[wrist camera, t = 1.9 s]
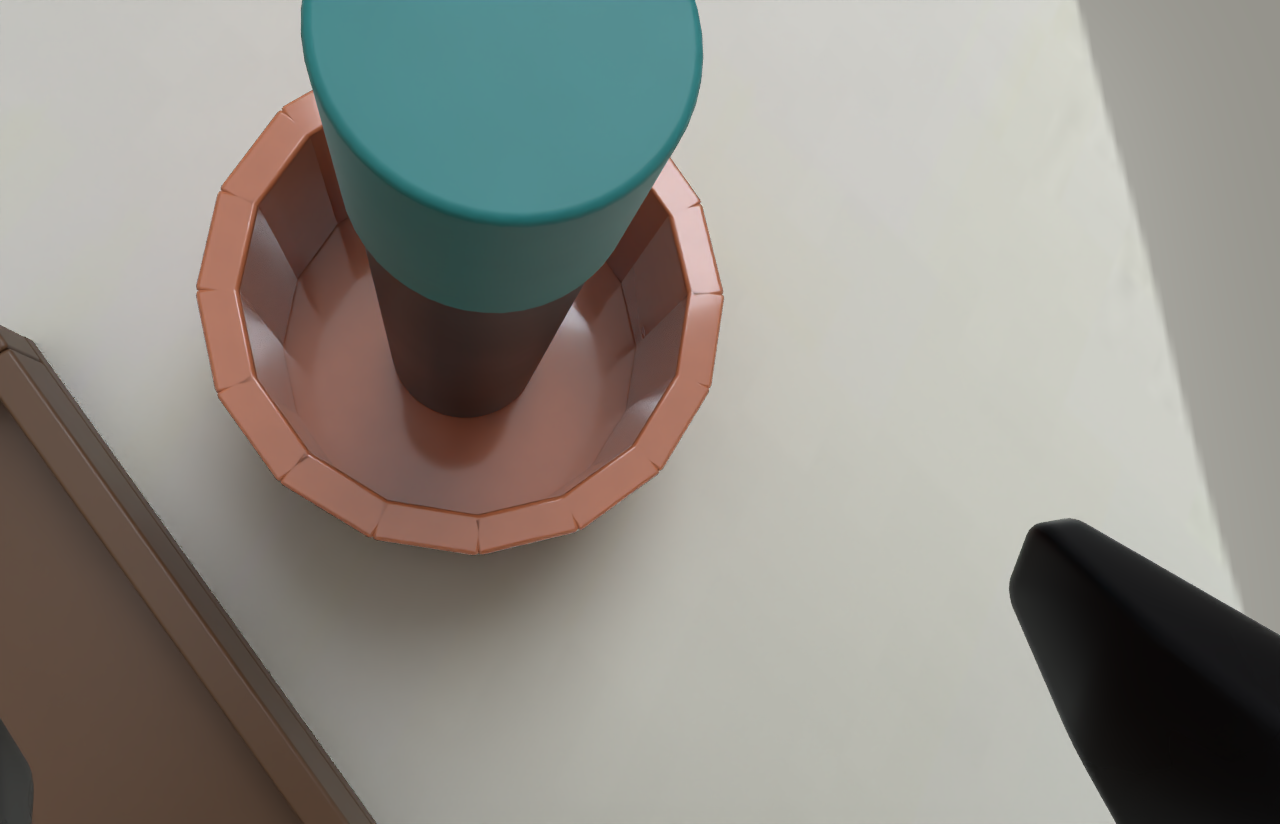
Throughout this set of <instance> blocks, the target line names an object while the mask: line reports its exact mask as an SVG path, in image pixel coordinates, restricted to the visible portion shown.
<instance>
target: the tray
mask: <svg viewBox="0 0 1280 824" xmlns="http://www.w3.org/2000/svg"><path fill="white" fill-rule="evenodd" d="M0 718H1V720H2V721H3V723H4V725H5V726H6V728H7V730H8V731H9V733H10V735H11V736H12V738H13V739H14V741H15V743H16V744H17V746H18V748H19V749H20V751H21V752H22V754H23V756H24V757H25V759H26V761H27V762H28V764H29V767H30V769H31V772H32V777H33V783H34V801H33V815H32V824H377V823H376V822H375V821H374V819H373V818H372V816H371V815H370V814H369V812H368V811H367V809H366V808H365V807H364V805H363V804H362V802H361V801H360V800H359V798H358V797H357V795H356V794H355V793H354V791H353V790H352V788H351V787H350V786H349V784H348V783H347V781H346V780H345V779H344V777H343V776H342V774H341V773H340V772H339V770H338V769H337V767H336V766H335V765H334V763H333V762H332V760H331V759H330V758H329V756H328V755H327V753H326V752H325V751H324V749H323V748H322V746H321V745H320V744H319V742H318V741H317V739H316V738H315V736H314V735H313V734H312V732H311V731H310V729H309V728H308V727H307V725H306V724H305V722H304V721H303V720H302V718H301V717H300V715H299V714H298V713H297V711H296V710H295V708H294V707H293V706H292V704H291V703H290V701H289V700H288V699H287V697H286V696H285V694H284V693H283V692H282V690H281V689H280V687H279V686H278V685H277V683H276V682H275V680H274V679H273V678H272V676H271V675H270V673H269V672H268V671H267V669H266V668H265V666H264V665H263V664H262V662H261V661H260V659H259V658H258V657H257V655H256V654H255V652H254V651H253V649H252V648H251V647H250V645H249V644H248V642H247V641H246V640H245V638H244V637H243V635H242V634H241V633H240V631H239V630H238V628H237V627H236V626H235V624H234V623H233V621H232V620H231V619H230V617H229V616H228V614H227V613H226V612H225V610H224V609H223V607H222V606H221V605H220V603H219V602H218V600H217V599H216V598H215V596H214V595H213V593H212V592H211V591H210V589H209V588H208V586H207V585H206V584H205V582H204V581H203V579H202V578H201V577H200V575H199V574H198V572H197V571H196V570H195V568H194V567H193V565H192V564H191V562H190V561H189V560H188V558H187V557H186V555H185V554H184V553H183V551H182V550H181V548H180V547H179V546H178V544H177V543H176V541H175V540H174V539H173V537H172V536H171V534H170V533H169V532H168V530H167V529H166V527H165V526H164V525H163V523H162V522H161V520H160V519H159V518H158V516H157V515H156V513H155V512H154V511H153V509H152V508H151V506H150V505H149V504H148V502H147V501H146V499H145V498H144V497H143V495H142V494H141V492H140V491H139V490H138V488H137V487H136V485H135V484H134V483H133V481H132V480H131V478H130V477H129V475H128V474H127V473H126V471H125V470H124V468H123V467H122V466H121V464H120V463H119V461H118V460H117V459H116V457H115V456H114V454H113V453H112V452H111V450H110V449H109V447H108V446H107V445H106V443H105V442H104V440H103V439H102V438H101V436H100V435H99V433H98V432H97V431H96V429H95V428H94V426H93V425H92V424H91V422H90V421H89V419H88V418H87V417H86V415H85V414H84V412H83V411H82V410H81V408H80V407H79V405H78V404H77V403H76V401H75V400H74V398H73V397H72V396H71V394H70V393H69V391H68V390H67V388H66V387H65V386H64V384H63V383H62V381H61V380H60V379H59V377H58V376H57V374H56V373H55V372H54V370H53V369H52V367H51V366H50V365H49V363H48V362H47V360H46V359H45V358H44V356H43V355H42V353H41V352H40V351H39V349H38V348H37V346H36V345H35V344H34V342H33V341H32V340H30V339H28V338H26V337H23V336H21V335H19V334H17V333H15V332H13V331H11V330H9V329H7V328H5V327H3V326H1V325H0Z"/></svg>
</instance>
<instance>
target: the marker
mask: <svg viewBox="0 0 1280 824" xmlns="http://www.w3.org/2000/svg"><path fill="white" fill-rule="evenodd" d="M301 39H302V46H303V53H304V60H305V64H306V67H307V71H308V75H309V78H310V82H311V86H312V89H313V93H314V96H315V100H316V104H317V107H318V111H319V115H320V118H321V122H322V126H323V129H324V133H325V136H326V140H327V144H328V147H329V151H330V155H331V158H332V162H333V165H334V169H335V173H336V176H337V180H338V184H339V187H340V191H341V194H342V198H343V201H344V205H345V208H346V212H347V214H348V216H349V218H350V221H351V223H352V225H353V227H354V230H355V231H356V233H357V234H358V236H359V238H360V239H361V241H362V243H363V244H364V246H365V249H366V253H367V257H368V261H369V266H370V270H371V274H372V278H373V282H374V286H375V290H376V294H377V298H378V302H379V306H380V310H381V315H382V319H383V323H384V327H385V331H386V335H387V339H388V343H389V347H390V351H391V355H392V359H393V363H394V366H395V370H396V372H397V374H398V376H399V378H400V380H401V382H402V383H403V385H404V387H405V388H406V389H407V390H408V391H409V393H410V394H411V395H412V396H413V397H414V398H415V399H417V400H418V401H419V402H420V403H422V404H423V405H425V406H426V407H428V408H430V409H432V410H433V411H436V412H439V413H441V414H444V415H448V416H452V417H461V418H470V417H478V416H483V415H487V414H491V413H493V412H495V411H498V410H500V409H501V408H503V407H505V406H507V405H508V404H509V403H511V402H512V401H513V400H514V399H516V398H517V397H518V395H519V394H520V393H521V392H522V391H523V390H524V388H525V387H526V386H527V384H528V382H529V381H530V379H531V377H532V375H533V374H534V372H535V370H536V368H537V366H538V365H539V363H540V361H541V359H542V358H543V356H544V354H545V352H546V350H547V349H548V347H549V345H550V343H551V342H552V340H553V338H554V336H555V334H556V333H557V331H558V329H559V327H560V326H561V324H562V322H563V320H564V318H565V317H566V315H567V313H568V311H569V310H570V308H571V306H572V304H573V302H574V301H575V299H576V297H577V295H578V294H579V292H580V290H581V288H582V286H583V285H584V283H585V282H586V281H587V280H588V279H589V278H591V277H592V276H593V275H594V274H595V273H596V272H597V271H598V270H599V269H600V268H601V267H602V266H603V264H604V263H605V262H606V260H607V259H608V258H609V256H610V255H611V254H612V252H613V251H614V249H615V248H616V246H617V244H618V243H619V241H620V239H621V238H622V236H623V235H624V233H625V231H626V230H627V228H628V226H629V225H630V223H631V221H632V220H633V218H634V216H635V215H636V213H637V211H638V210H639V208H640V206H641V205H642V203H643V201H644V200H645V198H646V196H647V195H648V193H649V191H650V190H651V188H652V186H653V185H654V183H655V181H656V180H657V178H658V176H659V175H660V173H661V171H662V170H663V168H664V166H665V165H666V163H667V161H668V160H669V158H670V156H671V155H672V153H673V151H674V150H675V148H676V146H677V144H678V143H679V141H680V139H681V137H682V135H683V134H684V132H685V130H686V128H687V126H688V124H689V121H690V118H691V116H692V113H693V111H694V108H695V105H696V102H697V97H698V93H699V88H700V84H701V77H702V65H703V44H702V31H701V25H700V20H699V14H698V9H697V6H696V3H695V0H302V6H301Z"/></svg>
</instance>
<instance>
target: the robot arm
mask: <svg viewBox="0 0 1280 824" xmlns="http://www.w3.org/2000/svg"><path fill="white" fill-rule="evenodd" d="M1009 593H1010V599H1011V603H1012V606H1013V609H1014V611H1015V613H1016V616H1017V618H1018V620H1019V623H1020V625H1021V627H1022V630H1023V632H1024V634H1025V637H1026V639H1027V641H1028V644H1029V646H1030V648H1031V651H1032V653H1033V655H1034V657H1035V660H1036V662H1037V664H1038V667H1039V669H1040V671H1041V674H1042V676H1043V678H1044V681H1045V683H1046V685H1047V688H1048V690H1049V692H1050V694H1051V697H1052V699H1053V701H1054V704H1055V706H1056V708H1057V711H1058V713H1059V715H1060V718H1061V720H1062V722H1063V724H1064V727H1065V729H1066V731H1067V733H1068V735H1069V737H1070V739H1071V741H1072V744H1073V746H1074V748H1075V749H1076V751H1077V753H1078V755H1079V757H1080V759H1081V761H1082V763H1083V765H1084V766H1085V768H1086V770H1087V772H1088V774H1089V776H1090V777H1091V779H1092V781H1093V783H1094V784H1095V786H1096V788H1097V790H1098V792H1099V793H1100V795H1101V797H1102V799H1103V801H1104V802H1105V804H1106V806H1107V808H1108V810H1109V811H1110V813H1111V815H1112V817H1113V818H1114V820H1115V822H1116V824H1280V635H1279V634H1277V633H1275V632H1273V631H1272V630H1270V629H1268V628H1266V627H1265V626H1263V625H1261V624H1259V623H1258V622H1256V621H1254V620H1252V619H1251V618H1249V617H1247V616H1246V615H1244V614H1242V613H1240V612H1239V611H1237V610H1235V609H1233V608H1232V607H1230V606H1228V605H1226V604H1225V603H1223V602H1221V601H1219V600H1218V599H1216V598H1214V597H1213V596H1211V595H1209V594H1207V593H1206V592H1204V591H1202V590H1200V589H1199V588H1197V587H1195V586H1193V585H1192V584H1190V583H1188V582H1186V581H1185V580H1183V579H1181V578H1180V577H1178V576H1176V575H1174V574H1173V573H1171V572H1169V571H1167V570H1166V569H1164V568H1162V567H1160V566H1159V565H1157V564H1155V563H1153V562H1152V561H1150V560H1148V559H1147V558H1145V557H1143V556H1141V555H1140V554H1138V553H1136V552H1134V551H1133V550H1131V549H1129V548H1127V547H1126V546H1124V545H1122V544H1120V543H1119V542H1117V541H1115V540H1114V539H1112V538H1110V537H1108V536H1107V535H1105V534H1103V533H1101V532H1100V531H1098V530H1096V529H1094V528H1093V527H1091V526H1089V525H1087V524H1086V523H1084V522H1082V521H1080V520H1076V519H1071V518H1067V519H1060V520H1054V521H1048V522H1043V523H1038V524H1036V525H1034V526H1033V527H1032V528H1031V529H1030V530H1029V532H1028V533H1027V535H1026V538H1025V541H1024V543H1023V546H1022V549H1021V551H1020V554H1019V557H1018V559H1017V562H1016V565H1015V567H1014V570H1013V573H1012V575H1011V578H1010V583H1009ZM33 801H34V783H33V777H32V772H31V769H30V767H29V764H28V762H27V761H26V759H25V757H24V756H23V754H22V752H21V751H20V749H19V748H18V746H17V744H16V743H15V741H14V739H13V738H12V736H11V735H10V733H9V731H8V730H7V728H6V726H5V725H4V723H3V721H2V720H1V718H0V824H32V815H33Z"/></svg>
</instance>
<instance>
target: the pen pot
mask: <svg viewBox="0 0 1280 824" xmlns="http://www.w3.org/2000/svg"><path fill="white" fill-rule="evenodd" d="M700 202H701V201H700V199H699V198H698V196H697V195H696V193H695V192H694V191H693V189H692V188H691V186H690V185H689V183H688V182H687V181H686V179H685V178H684V176H683V175H682V174H681V172H680V171H679V169H678V168H677V166H676V165H675V164H674V162H673V161H672V159H671V158H669V160H668V161H667V163H666V165H665V166H664V168H663V170H662V171H661V173H660V175H659V176H658V178H657V180H656V181H655V183H654V185H653V186H652V188H651V190H650V191H649V193H648V195H647V196H646V198H645V200H644V201H643V203H642V205H641V206H640V208H639V210H638V211H637V213H636V215H635V216H634V218H633V220H632V221H631V223H630V225H629V226H628V228H627V230H626V231H625V233H624V235H623V236H622V238H621V239H620V241H619V243H618V244H617V246H616V248H615V249H614V251H613V252H612V254H611V255H610V256H609V258H608V259H607V260H606V262H605V263H604V264H603V266H602V267H601V268H600V269H599V270H598V271H597V272H596V273H595V274H594V275H593V276H592V277H591V278H589V279H588V280H587V281H586V282H585V283H584V285H583V286H582V288H581V290H580V292H579V294H578V295H577V297H576V299H575V301H574V302H573V304H572V306H571V308H570V310H569V311H568V313H567V315H566V317H565V318H564V320H563V322H562V324H561V326H560V327H559V329H558V331H557V333H556V334H555V336H554V338H553V340H552V342H551V343H550V345H549V347H548V349H547V350H546V352H545V354H544V356H543V358H542V359H541V361H540V363H539V365H538V366H537V368H536V370H535V372H534V374H533V375H532V377H531V379H530V381H529V382H528V384H527V386H526V387H525V388H524V390H523V391H522V392H521V393H520V394H519V395H518V397H517V398H516V399H514V400H513V401H512V402H511V403H509V404H508V405H507V406H505V407H503V408H501V409H500V410H498V411H495V412H493V413H491V414H487V415H483V416H478V417H470V418H461V417H452V416H448V415H444V414H441V413H439V412H436V411H433V410H432V409H430V408H428V407H426V406H425V405H423V404H422V403H420V402H419V401H418V400H417V399H415V398H414V397H413V396H412V395H411V394H410V393H409V391H408V390H407V389H406V388H405V387H404V385H403V383H402V382H401V380H400V378H399V376H398V374H397V372H396V370H395V366H394V363H393V359H392V355H391V351H390V347H389V343H388V339H387V335H386V331H385V327H384V323H383V319H382V315H381V310H380V306H379V302H378V298H377V294H376V290H375V286H374V282H373V278H372V274H371V270H370V266H369V261H368V257H367V253H366V249H365V246H364V244H363V243H362V241H361V239H360V238H359V236H358V234H357V233H356V231H355V230H354V227H353V225H352V223H351V221H350V218H349V216H348V214H347V212H346V208H345V205H344V201H343V198H342V194H341V191H340V187H339V184H338V180H337V176H336V173H335V169H334V165H333V162H332V158H331V155H330V151H329V147H328V144H327V140H326V136H325V133H324V129H323V126H322V122H321V118H320V115H319V111H318V107H317V104H316V100H315V96H314V93H313V90H312V91H310V92H308V93H306V94H305V95H303V96H301V97H299V98H297V99H296V100H294V101H292V102H290V103H289V104H287V105H285V106H283V108H282V111H281V110H280V111H279V112H277V114H276V115H275V116H274V118H273V119H272V120H271V122H270V123H269V124H268V126H267V127H266V128H265V129H264V131H263V132H262V133H261V135H260V136H259V137H258V139H257V140H256V141H255V143H254V144H253V145H252V147H251V148H250V149H249V150H248V152H247V153H246V154H245V156H244V157H243V158H242V160H241V161H240V162H239V164H238V165H237V166H236V168H235V169H234V170H233V171H232V173H231V174H230V175H229V177H228V178H227V179H226V181H225V182H224V183H223V185H222V186H221V191H219V193H218V194H217V198H216V202H215V207H214V211H213V215H212V220H211V224H210V228H209V233H208V237H207V241H206V245H205V250H204V254H203V258H202V263H201V267H200V271H199V276H198V280H197V284H196V288H197V290H198V291H197V294H196V298H197V303H198V308H199V313H200V318H201V323H202V328H203V333H204V338H205V343H206V347H207V352H208V357H209V362H210V367H211V372H212V377H213V382H214V387H215V390H216V392H217V393H218V394H217V396H218V398H219V400H220V401H221V402H222V404H223V405H224V407H225V408H226V409H227V411H228V412H229V414H230V415H231V416H232V418H233V419H234V421H235V422H236V424H237V425H238V426H239V428H240V429H241V431H242V432H243V433H244V435H245V436H246V438H247V439H248V440H249V442H250V443H251V445H252V446H253V447H254V449H255V450H256V452H257V453H258V454H259V456H260V457H261V459H262V460H263V461H264V463H265V464H266V466H267V467H268V469H269V470H270V471H271V473H272V474H273V476H274V477H275V478H276V480H278V481H280V482H281V484H282V485H283V486H285V487H287V488H288V489H290V490H292V491H293V492H295V493H296V494H298V495H300V496H301V497H303V498H305V499H306V500H308V501H310V502H311V503H313V504H314V505H316V506H318V507H319V508H321V509H323V510H324V511H326V512H328V513H329V514H331V515H332V516H334V517H336V518H337V519H339V520H341V521H342V522H344V523H346V524H347V525H349V526H350V527H352V528H354V529H355V530H357V531H359V532H360V533H362V534H364V535H365V536H367V537H370V538H373V539H375V540H378V541H384V542H391V543H397V544H404V545H410V546H416V547H423V548H429V549H436V550H442V551H449V552H455V553H461V554H468V555H477V554H481V555H485V554H489V553H493V552H497V551H501V550H505V549H510V548H514V547H518V546H522V545H526V544H530V543H534V542H539V541H543V540H547V539H551V538H555V537H559V536H563V535H568V534H572V533H575V532H577V531H578V530H582V529H584V528H585V527H587V526H588V525H589V524H591V523H592V522H594V521H595V520H596V519H598V518H599V517H600V516H602V515H603V514H604V513H606V512H607V511H609V510H610V509H611V508H613V507H614V506H615V505H617V504H618V503H620V502H621V501H622V500H624V499H625V498H626V497H628V496H629V495H630V494H632V493H633V492H635V491H636V490H637V489H639V488H640V487H641V486H643V485H644V484H645V483H647V482H648V481H650V480H651V479H652V478H654V477H655V476H656V475H658V473H659V471H661V470H662V469H663V468H664V466H665V464H666V463H667V461H668V459H669V458H670V456H671V454H672V453H673V451H674V449H675V448H676V446H677V444H678V443H679V441H680V439H681V438H682V436H683V434H684V433H685V431H686V429H687V428H688V426H689V424H690V423H691V421H692V419H693V418H694V416H695V414H696V413H697V411H698V410H699V408H700V406H701V405H702V403H703V401H704V400H705V398H706V396H707V395H708V393H709V388H710V387H711V384H712V377H713V371H714V364H715V357H716V350H717V343H718V336H719V329H720V323H721V316H722V309H723V302H724V296H723V295H722V294H723V288H722V284H721V280H720V276H719V272H718V268H717V264H716V260H715V256H714V252H713V248H712V244H711V240H710V235H709V231H708V227H707V223H706V219H705V215H704V211H703V207H702V205H701V204H700Z"/></svg>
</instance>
